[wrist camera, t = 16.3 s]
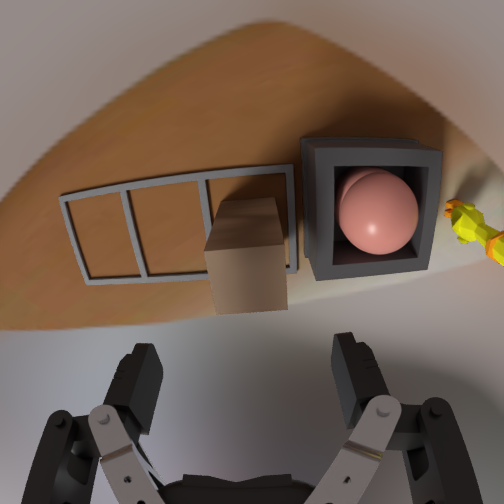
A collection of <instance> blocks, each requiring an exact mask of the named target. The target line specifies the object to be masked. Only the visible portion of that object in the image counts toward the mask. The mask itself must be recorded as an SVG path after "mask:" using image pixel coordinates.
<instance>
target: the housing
mask: <svg viewBox="0 0 504 504" xmlns="http://www.w3.org/2000/svg"><path fill="white" fill-rule="evenodd" d="M300 146H301V166H302V191H303V227H304V255H305V258H309V261H310V264H311V267H312V270H313V273H314V276H315V280H316V281H321V280H333V279H344V278H354V277H364V276H374V275H384V274H393V273H402V272H411V271H420V270H427V269H428V264H429V259H430V254H431V249H432V243H433V238H434V231H435V225H436V218H437V211H438V203H439V194H440V183H441V171H442V154H443V151H440V150H437V149H434V148H431V147H428V146H425V145H421V144H419V141H417V140H414V139H400V138H379V137H305V138H300ZM353 166H379V167H381V168H383V169H385V170H386V171H388V172H390V173H392V174H394V175H395V176H397V177H399V178H400V179H402V180H403V181H404V182H405V183H406V184H407V185H408V186H409V187H410V189H411V190H412V192H413V194H414V196H415V198H416V201H417V205H418V223H417V227H416V230H415V232H414V234H413V236H412V237H411V239H410V240H409V241H408V242H407V243H406V244H405V245H404V246H403V247H402V248H400V249H398V250H397V251H394V252H392V253H388V254H371V253H367V252H365V251H362V250H360V249H359V248H357V247H356V246H355V245H353V244H352V243H351V242H350V241H349V240H348V238H347V237H346V236H345V234H344V233H343V231H342V229H341V228H340V226H339V225H338V223H337V222H336V220H335V219H334V184H335V182H336V180H337V179H338V178H339V176H340V175H341V174H342V173H343V172H345V171H346V170H347V169H349V168H351V167H353Z"/></svg>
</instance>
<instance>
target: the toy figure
mask: <svg viewBox="0 0 504 504" xmlns="http://www.w3.org/2000/svg"><path fill="white" fill-rule="evenodd" d="M446 208H450V209H452V210H447V211H445V215H444V216H445V217H448V218H451V221H452V228H453V231H454V232H455V233H457V234H458V235H459V237H458V238H457V239H458V240H459V241H460V242H461V243H462V244H468V242H471V241H474V240H478V241H479V242H480V243H481V245H482V246H483V247H484V248H485V250H486V255H487V256H488V257H490V258H491V259H493V260H494V261H496V262H497V263H499V264H501V265H503V266H504V231H501V232H500V231H498V230H496V229H494V228H491V227H489V226H487V225H485V222H484V216H483V213H481V212H479V211H478V210H476V209H475V205H474V204H473V203H463V202H461V201H459V200H452V201H449V202H446Z"/></svg>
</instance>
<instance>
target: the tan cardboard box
mask: <svg viewBox="0 0 504 504" xmlns="http://www.w3.org/2000/svg"><path fill="white" fill-rule="evenodd" d="M204 256H205V261H206V266H207V271H208V276H209V281H210V286H211V291H212V296H213V301H214V305H215V310H216V315H219V314H236V313H251V312H264V311H276V310H288V304H287V281H286V261H285V244H284V239H283V234H282V230H281V225H280V220H279V215H278V211H277V206H276V201H275V197H265V198H254V199H243V200H233V201H223V202H221V203H220V205H219V208H218V211H217V214H216V217H215V220H214V223H213V225H212V228H211V231H210V234H209V237H208V240H207V243H206V246H205V249H204Z"/></svg>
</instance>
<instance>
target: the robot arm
mask: <svg viewBox="0 0 504 504" xmlns="http://www.w3.org/2000/svg"><path fill="white" fill-rule="evenodd" d="M331 367H332V372H333V376H334V380H335V384H336V388H337V392H338V395H339V399H340V404H341V408H342V412H343V416H344V420H345V424H346V428H347V429H352V428H354V431H353V433H352V435H351V436H350V438H349V439H348V441H347V442H346V443H345V444H344V446H343V447H342V449H341V450H340V452H339V454H338V455H337V457H336V458H335V460H334V462H333V463H332V465H331V466H330V468H329V469H328V471H327V472H326V474H325V475H324V477H323V478H322V479H321V481H320V482H319V484H318V485H317V487H316V486H314V485H312V484H310V483H306V482H304V481H299V480H294V479H292V478H291V474H283V475H270V476H261V477H257V478H254V479H250V480H245V481H241V482H231V481H227V480H222V479H219V478H215V477H211V476H202V475H187V474H184V475H183V480H180V481H175V482H172V483H169V484H166V483H165V482H164V480H163V479H162V478H161V476H160V475H159V474H158V472H157V471H156V469H155V468H154V466H153V464H152V463H151V461H150V459H149V458H148V456H147V454H146V452H145V451H144V449H143V447H142V445H141V443H140V442H139V437H140V434H143V435H149V431H150V427H151V423H152V419H153V414H154V410H155V407H156V402H157V399H158V395H159V391H160V387H161V383H162V379H163V367H162V364H161V362H160V359H159V357H158V354H157V352H156V349H155V347H154V345H153V344H152V343H150V344H148V343H137V344H136V345H135V347H134V349H133V351H132V354H126V356H125V357H124V358H123V359H122V360H121V361H120V363H119V365H118V367H117V370H116V372H115V375H114V379H112V382H111V385H110V387H109V390H108V392H107V395H106V397H105V400H104V403H103V405H100V406H97V407H96V408H94V409H93V410H92V411H91V412H90V414H89V415H84V416H77V417H72V415H71V414H70V413H69V412H68V411H65V410H58V411H56V412H54V413H53V414H51V415H50V417H49V419H48V421H47V424H46V426H45V429H44V431H43V435H42V437H41V440H40V443H39V445H38V449H37V451H36V454H35V457H34V460H33V463H32V467H31V470H30V473H29V476H28V480H27V483H26V487H25V491H24V494H23V498H22V502H21V504H90V501H91V495H92V490H93V485H94V480H95V475H96V471H97V466H98V462H99V457H102V459H100V464H101V466H102V469H103V471H104V473H105V476H106V478H107V480H108V482H109V484H110V486H111V488H112V490H113V492H114V494H115V496H116V498H117V500H118V502H119V504H357V503H358V501H359V499H360V498H361V496H362V494H363V492H364V491H365V489H366V488H367V485H368V484H369V482H370V480H371V479H372V477H373V474H374V473H375V471H376V469H377V467H378V465H379V463H380V461H381V459H382V455H383V453H384V451H385V450H402V454H403V458H404V462H405V467H406V471H407V476H408V480H409V485H410V490H411V495H412V500H413V504H483V501H482V499H481V494H480V490H479V486H478V483H477V480H476V476H475V473H474V470H473V467H472V463H471V460H470V457H469V454H468V451H467V449H466V445H465V443H464V440H463V437H462V434H461V432H460V429H459V426H458V424H457V421H456V419H455V416H454V414H453V411H452V409H451V406H450V405H449V403H448V402H447V401H445V400H444V399H442V398H438V397H433V398H429V399H428V400H426V401H425V402H424V403H423V405H406V404H401V403H399V402H398V401H397V400H396V399H395V398H393V397H391V395H390V394H389V392H388V389H387V387H386V384H385V381H384V379H383V376H382V374H381V371H380V369H379V367H378V364H377V362H376V360H375V357H374V354H373V352H372V350H371V348H370V347H369V346H367V345H366V344H365V343H364V342H359V343H356V341H355V339H354V336H353V334H352V332H346V333H339V334H335V335H334V340H333V347H332V355H331Z"/></svg>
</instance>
